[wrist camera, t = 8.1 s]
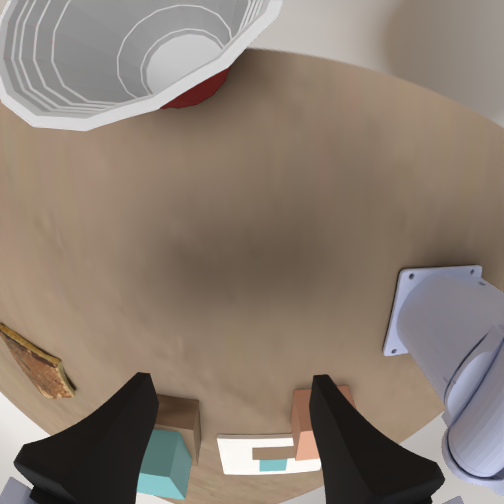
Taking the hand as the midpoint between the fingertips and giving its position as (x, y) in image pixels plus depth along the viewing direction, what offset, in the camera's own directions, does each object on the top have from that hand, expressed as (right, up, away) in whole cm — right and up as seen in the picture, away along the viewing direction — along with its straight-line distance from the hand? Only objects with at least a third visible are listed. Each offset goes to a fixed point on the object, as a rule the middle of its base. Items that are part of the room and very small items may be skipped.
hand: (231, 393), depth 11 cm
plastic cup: (-3, +18, +4) cm, 19 cm away
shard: (-24, -7, +13) cm, 28 cm away
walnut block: (-8, -11, +14) cm, 19 cm away
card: (+3, -17, +15) cm, 23 cm away
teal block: (-8, -12, +10) cm, 17 cm away
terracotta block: (+7, -8, +13) cm, 17 cm away
